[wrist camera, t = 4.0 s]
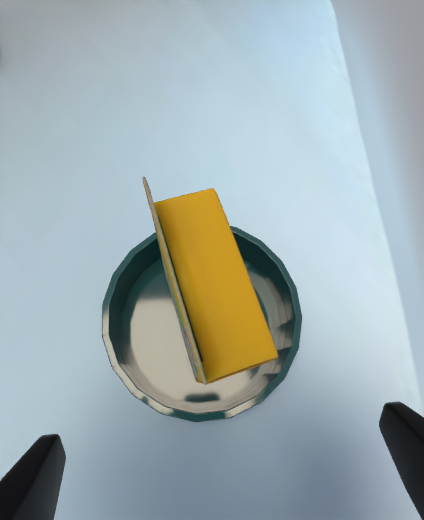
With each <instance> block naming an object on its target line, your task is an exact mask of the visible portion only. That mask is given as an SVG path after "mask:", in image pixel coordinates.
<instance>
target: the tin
mask: <svg viewBox="0 0 424 520" xmlns="http://www.w3.org/2000/svg"><path fill="white" fill-rule="evenodd" d="M230 228H231V230H232V233H233V236H234V238H235V241H236V243H237V246H238V249H239V252H240V254H241V257H242V259H243V262H244V264H245V267H246V269H247V272H248V275H249V278H250V281H251V283H252V286H253V288H254V291H255V294H256V296H257V299H258V302H259V304H260V307H261V310H262V312H263V315H264V318H265V320H266V322H267V325H268V328H269V331H270V333H271V336H272V339H273V342H274V344H275V347H276V350H277V353H278V358H277V359H276V360H274V361H271V362H268V363H265V364H263V365H260V366H257V367H255V368H252V369H249V370H246V371H244V372H241V373H238V374H235V375H232V376H229V377H227V378H224V379H221V380H218V381H216V382H213V383H210V384H207V385H204V384H203V383H198V382H196V380H195V377H194V373H193V369H192V366H191V363H190V359H189V356H188V353H187V349H186V346H185V342H184V339H183V335H182V332H181V328H180V324H179V321H178V317H177V313H176V310H175V307H174V303H173V300H172V296H171V293H170V289H169V286H168V282H167V279H166V274H165V270H164V266H163V261H162V256H161V251H160V247H159V243H158V238H157V234H156V232H155V233H153V234H152V235H151V236H149V237H148V238H147V239H145V240H144V241H143V242H141V243H140V244H139V245H137V246H136V247H135V248H133V249H132V250H131V251H130V252H129V253H128V255H127V256H126V257H125V259H124V260H123V261H122V263H121V264H120V265H119V267H118V268H117V269H116V271H115V272H114V273H113V275H112V278H111V281H110V284H109V287H108V289H107V292H106V295H105V298H104V301H103V305H102V338H103V341H104V344H105V347H106V351H107V354H108V357H109V360H110V363H111V366H112V368H113V370H114V371H115V372H116V374H117V375H118V376H119V378H120V379H121V380H122V382H123V383H124V384H125V386H126V387H127V388H128V390H129V391H130V392H131V394H132V395H133V396H135V397H136V398H138V399H139V400H141V401H142V402H144V403H145V404H147V405H148V406H150V407H151V408H153V409H155V410H156V411H158V412H159V413H161V414H163V415H167V416H171V417H176V418H180V419H184V420H188V421H193V422H202V421H211V420H219V419H227V418H230V417H231V418H232V417H234V416H236V415H238V414H240V413H242V412H244V411H246V410H248V409H250V408H252V407H254V406H256V405H258V404H260V403H261V402H263V401H264V400H265V398H266V397H267V396H268V395H269V394H270V393H271V392H272V391H273V390H274V389H275V388H276V387H277V386H278V385H279V384H280V383H281V382H282V381H283V380H284V378H285V377H286V375H287V373H288V370H289V368H290V366H291V364H292V362H293V360H294V357H295V355H296V353H297V351H298V348H299V341H300V332H301V323H302V314H301V309H300V304H299V299H298V294H297V289H296V286H295V284H294V282H293V281H292V279H291V277H290V275H289V273H288V271H287V269H286V268H285V266H284V264H283V262H282V261H281V260H280V259H279V258H278V257H277V256H276V255H275V254H274V253H273V252H272V251H271V250H270V249H269V248H268V247H267V246H266V245H265V244H264V243H263V242H262V241H261V240H259V239H257V238H255V237H253V236H252V235H250V234H248V233H246V232H244V231H242V230H241V229H239V228H237V227H233V226H230Z"/></svg>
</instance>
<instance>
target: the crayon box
mask: <svg viewBox="0 0 424 520" xmlns="http://www.w3.org/2000/svg"><path fill="white" fill-rule="evenodd" d="M142 179H143V184H144V187H145V191H146V195H147V199H148V202H149V206H150V209H151V213H152V217H153V221H154V225H155V230H156V234H157V238H158V243H159V247H160V251H161V256H162V261H163V266H164V270H165V274H166V279H167V282H168V286H169V289H170V293H171V296H172V300H173V303H174V307H175V310H176V313H177V317H178V321H179V324H180V328H181V332H182V335H183V339H184V342H185V346H186V349H187V353H188V356H189V359H190V363H191V366H192V369H193V373H194V377H195V380H196V382H198V383H203V384H204V385H207V384H210V383H213V382H216V381H218V380H221V379H224V378H227V377H229V376H232V375H235V374H238V373H241V372H244V371H246V370H249V369H252V368H255V367H257V366H260V365H263V364H265V363H268V362H271V361H274V360H276V359H277V358H278V353H277V350H276V347H275V344H274V342H273V339H272V336H271V333H270V331H269V328H268V325H267V322H266V320H265V318H264V315H263V312H262V310H261V307H260V304H259V302H258V299H257V296H256V294H255V291H254V288H253V286H252V283H251V281H250V278H249V275H248V272H247V269H246V267H245V264H244V262H243V259H242V257H241V254H240V252H239V249H238V246H237V243H236V241H235V238H234V236H233V233H232V230H231V228H230V226H229V223H228V220H227V218H226V215H225V213H224V211H223V208H222V205H221V203H220V200H219V198H218V195H217V193H216V191H215V190H214V189H212V188H211V189H207V190H204V191H199V192H195V193H191V194H187V195H182V196H179V197H174V198H171V199H167V200H163V201H159V202H154V203H153V200H152V196H151V192H150V189H149V186H148V183H147V180H146V178H145V177H143V178H142Z"/></svg>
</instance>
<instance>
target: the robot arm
mask: <svg viewBox="0 0 424 520" xmlns="http://www.w3.org/2000/svg"><path fill="white" fill-rule="evenodd" d="M379 427H380V431H381V433H382V436H383V438H384V440H385V442H386V445H387V447H388V449H389V452H390V454H391V456H392V459H393V461H394V463H395V466H396V468H397V470H398V472H399V475H400V477H401V479H402V481H403V484H404V486H405V488H406V490H407V492H408V494H409V496H410V498H411V500H412V502H413V503H414V505H415V507H416V509H417V511H418V513H419V515H420V516H421V518H422V520H424V417H422V416H421V415H419V414H418V413H416V412H415V411H413V410H412V409H411V408H409V407H408V406H406V405H405V404H403V403H401V402H389V403H386V404H385V405H384V407H383V411H382V414H381V417H380V421H379ZM65 460H66V455H65V451H64V448H63V445H62V442H61V439H60V436H59V435H58V434H50V435H43V436H41V437H40V438H39V439H38V440H37V441H36V442H35V443H34V444H33V445H32V446H31V447H30V449H29V450H28V451H27V452H26V453H25V454H24V455H23V456H22V457H21V458H20V460H19V461H18V462H17V463H16V464H15V465H14V466H13V467H12V468H11V470H10V471H9V472H8V473H7V474H6V475H5V476H4V477H3V478H2V479H1V481H0V520H54V515H55V510H56V506H57V501H58V496H59V491H60V486H61V481H62V476H63V471H64V466H65Z"/></svg>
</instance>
